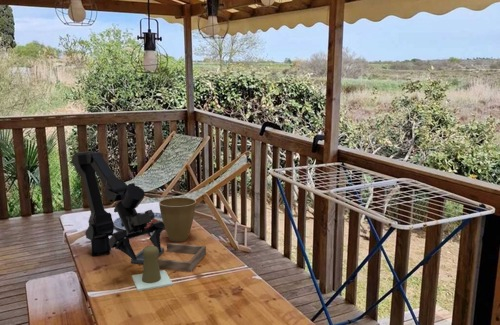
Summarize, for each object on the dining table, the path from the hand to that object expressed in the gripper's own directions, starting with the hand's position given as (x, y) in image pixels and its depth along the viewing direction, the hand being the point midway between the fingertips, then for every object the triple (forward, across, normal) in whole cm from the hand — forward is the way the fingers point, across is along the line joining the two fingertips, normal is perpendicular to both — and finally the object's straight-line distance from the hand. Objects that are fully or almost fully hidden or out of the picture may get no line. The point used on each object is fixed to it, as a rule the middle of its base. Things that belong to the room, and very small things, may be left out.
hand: (148, 256), depth 145 cm
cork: (+6, 0, +4) cm, 8 cm away
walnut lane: (+2, +16, +10) cm, 19 cm away
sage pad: (+7, 0, +4) cm, 8 cm away
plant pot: (-11, +30, +23) cm, 39 cm away
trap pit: (-6, +10, +17) cm, 21 cm away
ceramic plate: (-29, +30, +42) cm, 59 cm away
